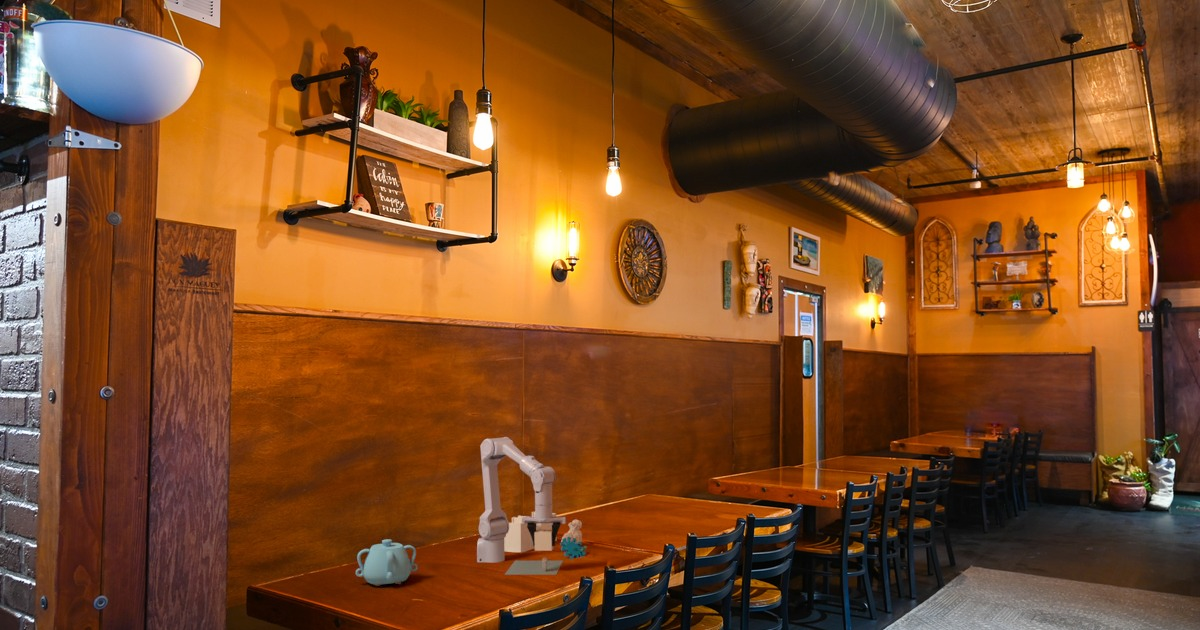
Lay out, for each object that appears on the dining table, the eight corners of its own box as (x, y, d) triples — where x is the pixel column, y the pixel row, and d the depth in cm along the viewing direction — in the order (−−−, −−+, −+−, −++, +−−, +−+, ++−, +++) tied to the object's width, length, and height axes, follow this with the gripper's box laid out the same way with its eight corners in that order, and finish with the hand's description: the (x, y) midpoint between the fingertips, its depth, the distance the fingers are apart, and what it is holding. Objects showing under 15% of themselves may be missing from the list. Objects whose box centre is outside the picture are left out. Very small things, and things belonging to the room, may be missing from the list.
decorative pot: (349, 585, 267) (349, 542, 268) (386, 574, 281) (386, 533, 282) (386, 591, 259) (386, 547, 259) (422, 579, 272) (422, 537, 273)
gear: (567, 559, 291) (558, 535, 298) (559, 569, 294) (550, 545, 301) (592, 558, 298) (583, 535, 304) (585, 568, 300) (575, 545, 307)
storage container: (520, 553, 310) (520, 523, 311) (496, 551, 315) (496, 521, 316) (556, 541, 332) (556, 513, 333) (533, 539, 337) (533, 511, 338)
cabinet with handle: (534, 550, 274) (534, 532, 275) (537, 547, 280) (536, 528, 280) (551, 550, 274) (551, 532, 274) (553, 547, 279) (553, 528, 280)
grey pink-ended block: (542, 571, 275) (541, 559, 275) (543, 569, 278) (543, 557, 278) (545, 571, 275) (545, 559, 275) (546, 569, 278) (546, 557, 278)
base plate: (504, 578, 272) (504, 574, 272) (514, 564, 292) (514, 560, 292) (556, 578, 271) (556, 574, 271) (563, 564, 291) (563, 560, 291)
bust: (565, 555, 315) (580, 532, 313) (551, 541, 318) (566, 519, 316) (581, 549, 326) (596, 527, 323) (568, 535, 329) (582, 514, 326)
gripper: (520, 506, 274) (520, 548, 273) (563, 505, 273) (564, 548, 272) (523, 502, 281) (524, 543, 280) (566, 502, 280) (566, 543, 279)
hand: (544, 545), depth 277 cm, fingers closed on cabinet with handle, 6 cm apart
